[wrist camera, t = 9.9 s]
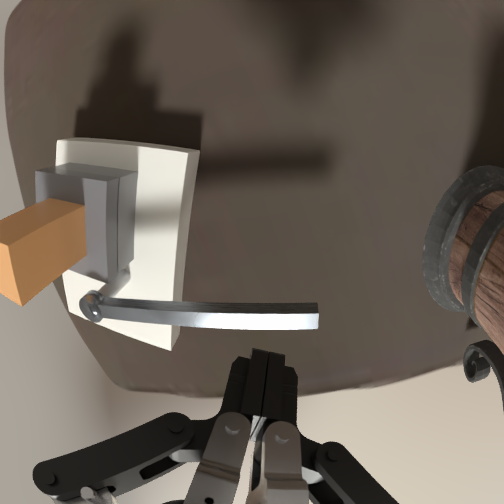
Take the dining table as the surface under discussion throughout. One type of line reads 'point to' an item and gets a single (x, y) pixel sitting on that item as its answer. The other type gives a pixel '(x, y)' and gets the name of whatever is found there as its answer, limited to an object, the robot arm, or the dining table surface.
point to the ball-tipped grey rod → (201, 313)
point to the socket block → (139, 225)
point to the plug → (60, 233)
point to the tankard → (471, 263)
